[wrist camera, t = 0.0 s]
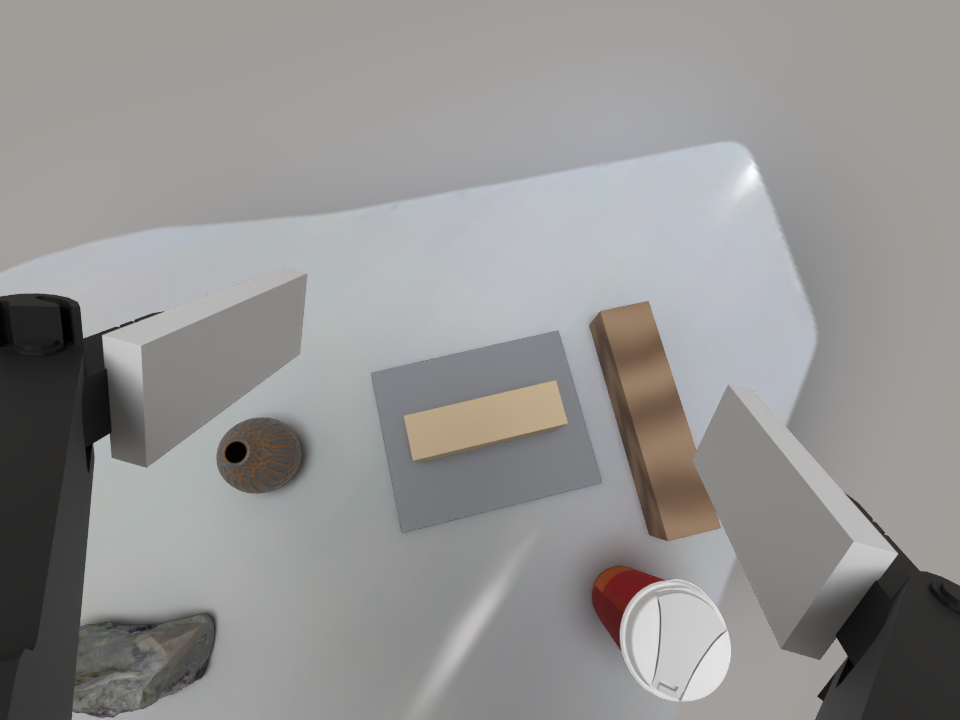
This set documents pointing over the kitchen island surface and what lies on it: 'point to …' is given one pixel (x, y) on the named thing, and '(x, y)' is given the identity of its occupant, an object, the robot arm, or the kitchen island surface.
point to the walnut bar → (652, 423)
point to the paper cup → (664, 632)
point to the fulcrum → (483, 430)
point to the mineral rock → (138, 663)
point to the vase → (259, 455)
